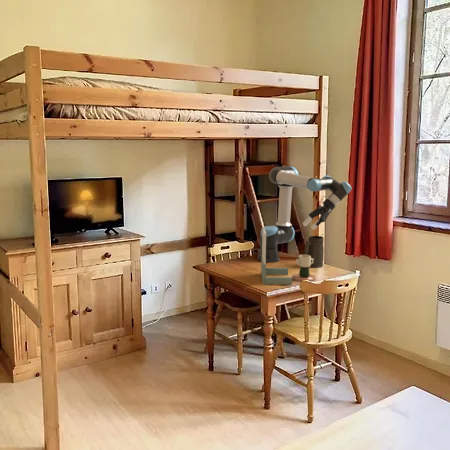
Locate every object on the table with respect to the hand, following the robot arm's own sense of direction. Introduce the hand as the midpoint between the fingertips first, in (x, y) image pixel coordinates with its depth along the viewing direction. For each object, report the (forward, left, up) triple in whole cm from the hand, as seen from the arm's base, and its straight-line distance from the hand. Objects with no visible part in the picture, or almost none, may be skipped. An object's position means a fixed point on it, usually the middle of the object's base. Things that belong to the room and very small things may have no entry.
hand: (307, 226), depth 328 cm
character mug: (+9, -10, -29) cm, 32 cm away
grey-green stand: (+1, -25, -30) cm, 39 cm away
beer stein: (-11, +16, -30) cm, 36 cm away
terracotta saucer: (+9, -10, -30) cm, 32 cm away
